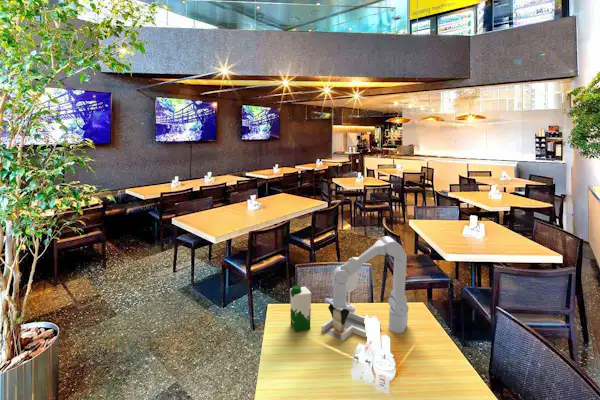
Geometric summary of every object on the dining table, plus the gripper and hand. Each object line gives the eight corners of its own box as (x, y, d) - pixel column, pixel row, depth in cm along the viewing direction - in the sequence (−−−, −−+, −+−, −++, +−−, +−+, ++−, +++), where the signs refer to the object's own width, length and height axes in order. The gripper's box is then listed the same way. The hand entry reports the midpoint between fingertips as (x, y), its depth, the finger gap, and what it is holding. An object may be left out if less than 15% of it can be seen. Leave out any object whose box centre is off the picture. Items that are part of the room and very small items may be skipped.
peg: (337, 324, 144) (337, 306, 143) (344, 327, 142) (345, 309, 141) (332, 328, 141) (333, 309, 140) (340, 331, 139) (340, 312, 137)
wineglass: (356, 305, 166) (357, 267, 163) (357, 313, 158) (359, 274, 154) (339, 304, 167) (341, 267, 164) (340, 312, 159) (341, 273, 155)
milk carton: (288, 323, 148) (288, 284, 145) (305, 320, 151) (306, 281, 148) (294, 333, 140) (294, 292, 137) (313, 329, 143) (313, 288, 140)
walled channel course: (343, 315, 156) (343, 309, 155) (380, 329, 144) (380, 322, 143) (321, 332, 141) (321, 325, 140) (360, 349, 129) (360, 342, 128)
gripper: (321, 292, 140) (320, 320, 143) (349, 302, 131) (348, 331, 134) (330, 287, 146) (329, 314, 148) (357, 296, 137) (356, 324, 139)
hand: (339, 322), depth 141 cm, fingers closed on peg, 4 cm apart
